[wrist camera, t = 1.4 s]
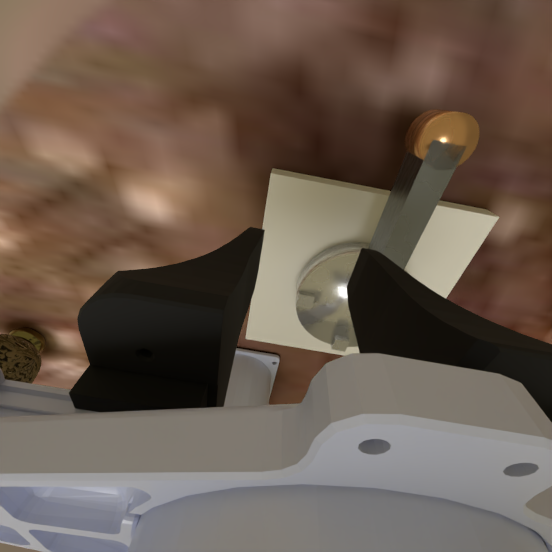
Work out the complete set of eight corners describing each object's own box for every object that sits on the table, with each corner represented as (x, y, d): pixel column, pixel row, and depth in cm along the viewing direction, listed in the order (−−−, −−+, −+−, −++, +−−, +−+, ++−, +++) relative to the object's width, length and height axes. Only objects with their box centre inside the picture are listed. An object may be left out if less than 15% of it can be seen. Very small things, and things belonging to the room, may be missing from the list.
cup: (49, 313, 29) (-23, 378, 23) (76, 359, 34) (21, 426, 27) (-18, 309, 30) (-108, 372, 23) (17, 356, 34) (-52, 420, 27)
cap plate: (397, 353, 29) (402, 366, 28) (247, 328, 29) (245, 339, 27) (487, 209, 20) (499, 217, 19) (272, 168, 20) (270, 173, 18)
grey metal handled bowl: (382, 337, 26) (397, 380, 22) (286, 321, 25) (284, 361, 22) (499, 123, 16) (563, 133, 12) (346, 91, 16) (362, 91, 12)
